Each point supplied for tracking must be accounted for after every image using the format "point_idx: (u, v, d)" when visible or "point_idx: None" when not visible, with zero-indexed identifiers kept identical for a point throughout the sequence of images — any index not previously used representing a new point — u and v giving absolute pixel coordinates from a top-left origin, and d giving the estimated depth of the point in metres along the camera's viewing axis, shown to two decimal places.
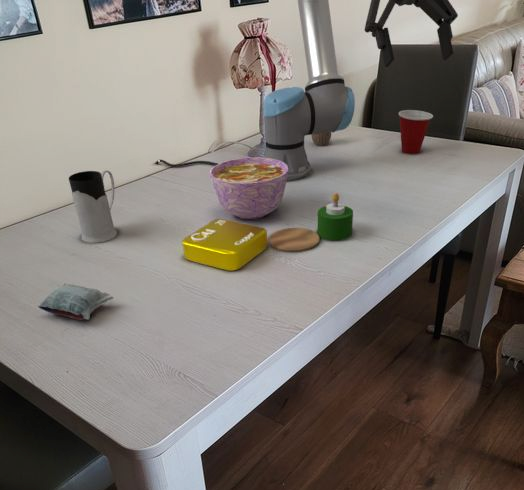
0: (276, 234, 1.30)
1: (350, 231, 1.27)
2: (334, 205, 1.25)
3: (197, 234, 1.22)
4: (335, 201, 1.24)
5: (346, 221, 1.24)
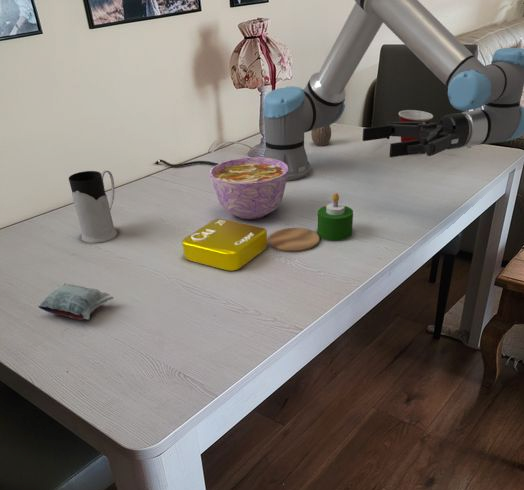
0: (276, 234, 1.30)
1: (350, 231, 1.27)
2: (334, 205, 1.25)
3: (197, 234, 1.22)
4: (335, 201, 1.24)
5: (346, 221, 1.24)
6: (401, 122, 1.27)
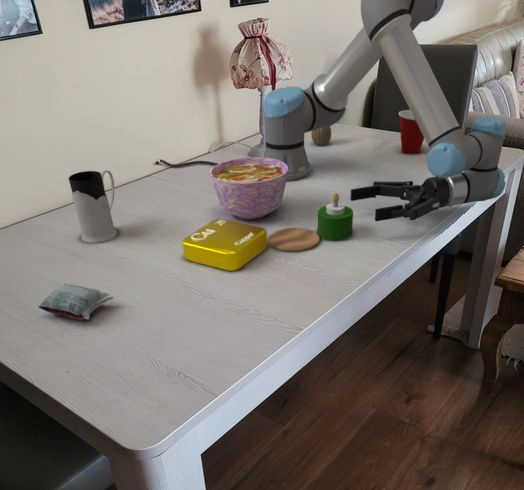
0: (276, 234, 1.30)
1: (350, 231, 1.27)
2: (334, 205, 1.25)
3: (197, 234, 1.22)
4: (335, 201, 1.24)
5: (346, 221, 1.24)
6: (387, 182, 1.35)
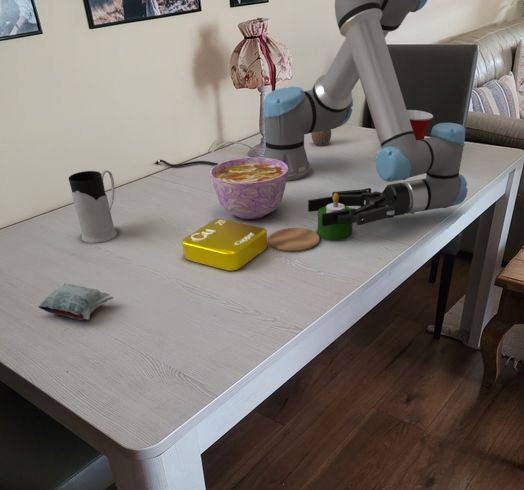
0: (276, 234, 1.30)
1: (350, 231, 1.27)
2: (334, 205, 1.25)
3: (197, 234, 1.22)
4: (335, 201, 1.24)
5: None
6: (346, 191, 1.32)
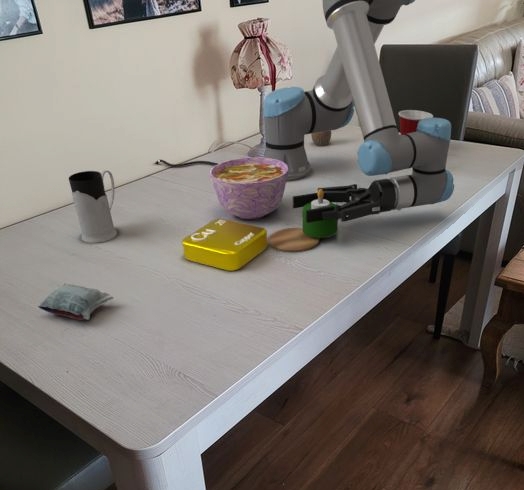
0: (276, 234, 1.30)
1: (335, 228, 1.25)
2: (319, 201, 1.24)
3: (197, 234, 1.22)
4: (320, 197, 1.23)
5: None
6: (331, 187, 1.30)
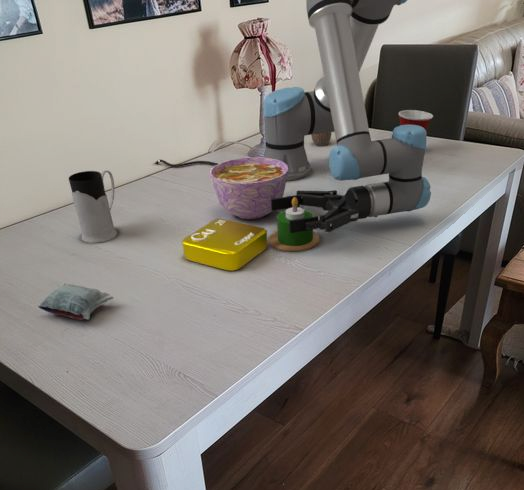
0: (276, 234, 1.30)
1: (310, 236, 1.25)
2: (293, 210, 1.23)
3: (197, 234, 1.22)
4: (294, 206, 1.22)
5: None
6: (310, 191, 1.31)
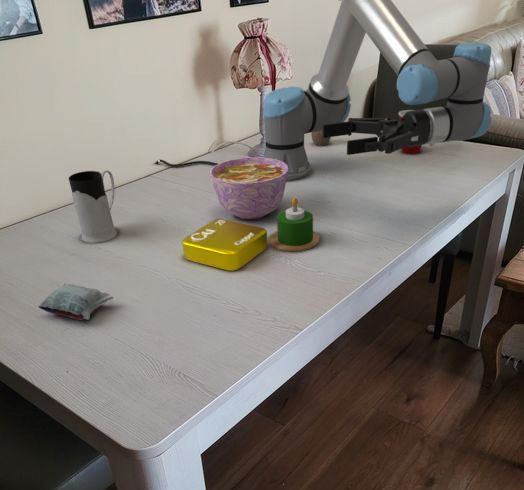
0: (276, 234, 1.30)
1: (310, 236, 1.25)
2: (293, 210, 1.23)
3: (197, 234, 1.22)
4: (294, 206, 1.22)
5: (305, 226, 1.22)
6: (363, 118, 1.24)
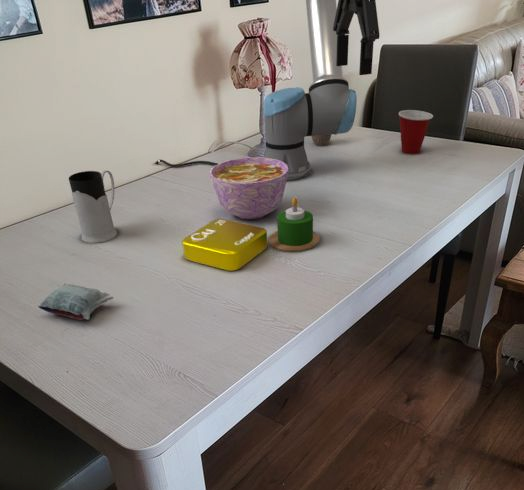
0: (276, 234, 1.30)
1: (310, 236, 1.25)
2: (293, 210, 1.23)
3: (197, 234, 1.22)
4: (294, 206, 1.22)
5: (305, 226, 1.22)
6: None
